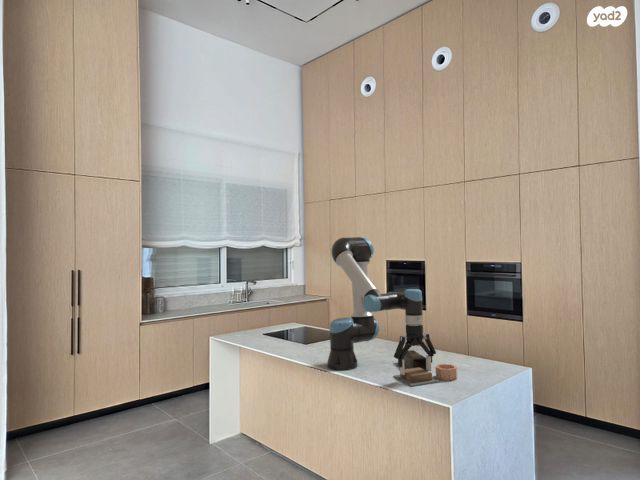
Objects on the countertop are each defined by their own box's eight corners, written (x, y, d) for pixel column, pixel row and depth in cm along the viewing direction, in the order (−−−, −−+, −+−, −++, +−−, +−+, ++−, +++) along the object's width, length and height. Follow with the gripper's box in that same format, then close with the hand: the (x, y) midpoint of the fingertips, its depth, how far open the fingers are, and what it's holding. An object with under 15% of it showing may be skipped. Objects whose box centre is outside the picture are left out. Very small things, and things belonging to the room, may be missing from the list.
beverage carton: (414, 361, 219) (414, 348, 219) (429, 371, 200) (429, 357, 200) (399, 362, 218) (399, 349, 218) (413, 373, 199) (413, 359, 199)
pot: (432, 375, 193) (432, 365, 193) (448, 373, 196) (448, 363, 196) (444, 381, 185) (444, 370, 185) (461, 378, 188) (460, 367, 188)
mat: (393, 376, 193) (393, 375, 193) (420, 373, 198) (420, 371, 198) (411, 386, 179) (411, 385, 179) (439, 382, 184) (439, 380, 184)
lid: (400, 376, 191) (400, 369, 192) (419, 373, 195) (419, 367, 195) (412, 383, 182) (412, 375, 182) (432, 379, 185) (431, 373, 186)
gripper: (393, 328, 181) (395, 378, 181) (443, 323, 190) (444, 370, 189) (385, 325, 188) (386, 373, 188) (433, 320, 197) (434, 366, 196)
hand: (415, 372), depth 189 cm, fingers open, 13 cm apart
